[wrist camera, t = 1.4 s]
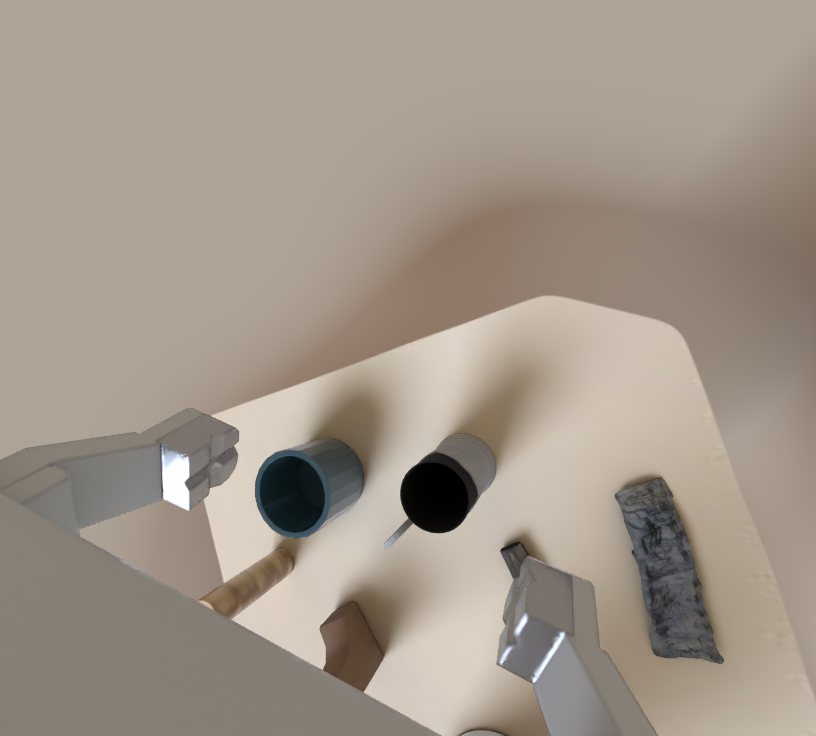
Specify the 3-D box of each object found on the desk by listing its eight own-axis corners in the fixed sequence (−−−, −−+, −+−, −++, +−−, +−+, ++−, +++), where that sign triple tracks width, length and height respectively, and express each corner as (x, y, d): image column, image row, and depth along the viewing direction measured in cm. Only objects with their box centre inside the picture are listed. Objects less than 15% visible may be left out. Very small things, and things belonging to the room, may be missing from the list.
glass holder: (509, 467, 56) (494, 500, 42) (439, 536, 59) (403, 589, 45) (461, 420, 58) (431, 437, 44) (396, 489, 61) (348, 526, 47)
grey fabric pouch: (611, 483, 52) (613, 488, 50) (672, 475, 49) (677, 480, 48) (653, 654, 50) (657, 666, 48) (718, 654, 48) (725, 666, 46)
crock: (362, 519, 63) (328, 546, 53) (295, 507, 67) (253, 530, 57) (365, 442, 63) (331, 455, 53) (298, 434, 66) (256, 445, 57)
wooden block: (333, 610, 64) (254, 697, 47) (355, 599, 63) (282, 684, 46) (361, 667, 63) (290, 778, 46) (385, 657, 62) (320, 767, 45)
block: (521, 537, 55) (520, 543, 53) (546, 580, 54) (546, 587, 52) (497, 549, 56) (495, 554, 54) (521, 591, 55) (520, 598, 53)
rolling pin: (293, 578, 67) (216, 640, 52) (270, 573, 68) (189, 631, 53) (294, 551, 67) (218, 604, 52) (271, 546, 68) (190, 596, 53)
